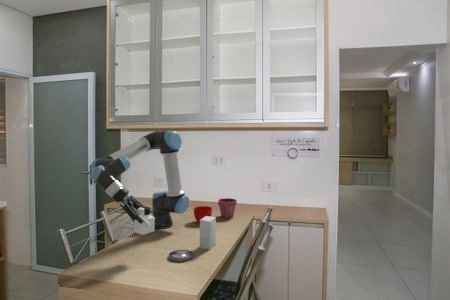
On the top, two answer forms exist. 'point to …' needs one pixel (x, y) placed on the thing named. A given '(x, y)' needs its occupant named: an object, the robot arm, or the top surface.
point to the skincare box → (207, 232)
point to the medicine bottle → (146, 215)
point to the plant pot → (227, 207)
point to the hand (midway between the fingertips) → (150, 223)
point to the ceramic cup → (202, 212)
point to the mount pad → (180, 255)
